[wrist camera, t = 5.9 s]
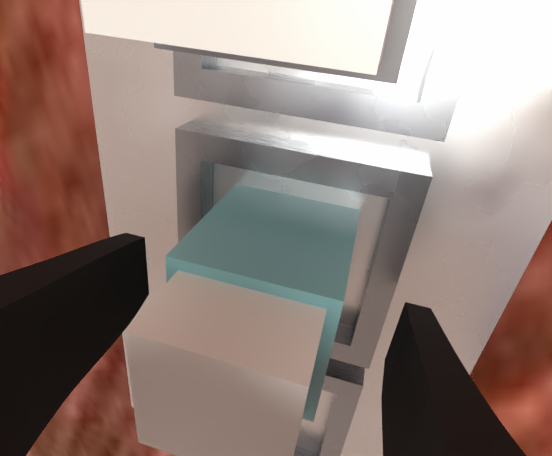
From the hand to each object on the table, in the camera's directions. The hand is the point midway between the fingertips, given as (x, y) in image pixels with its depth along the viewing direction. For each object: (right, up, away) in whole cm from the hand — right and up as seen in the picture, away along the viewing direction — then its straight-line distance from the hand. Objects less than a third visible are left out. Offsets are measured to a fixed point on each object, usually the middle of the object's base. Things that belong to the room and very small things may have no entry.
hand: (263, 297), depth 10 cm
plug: (+1, +1, +3) cm, 3 cm away
